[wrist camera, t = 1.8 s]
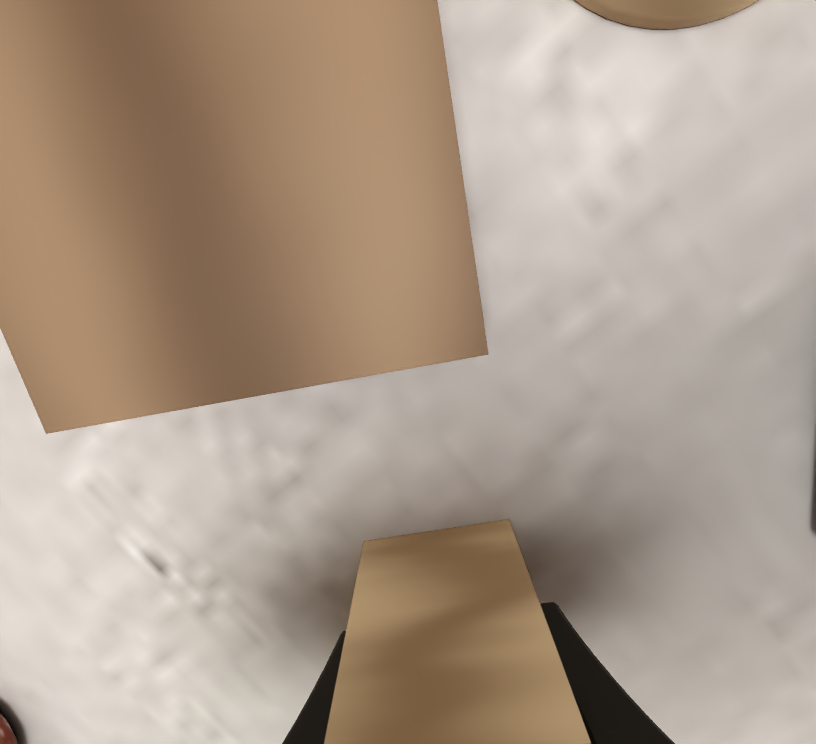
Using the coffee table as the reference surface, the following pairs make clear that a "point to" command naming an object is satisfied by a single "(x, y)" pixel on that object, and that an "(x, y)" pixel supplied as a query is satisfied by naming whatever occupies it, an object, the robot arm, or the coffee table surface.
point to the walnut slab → (226, 201)
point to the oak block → (450, 647)
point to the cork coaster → (665, 11)
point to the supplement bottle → (6, 732)
